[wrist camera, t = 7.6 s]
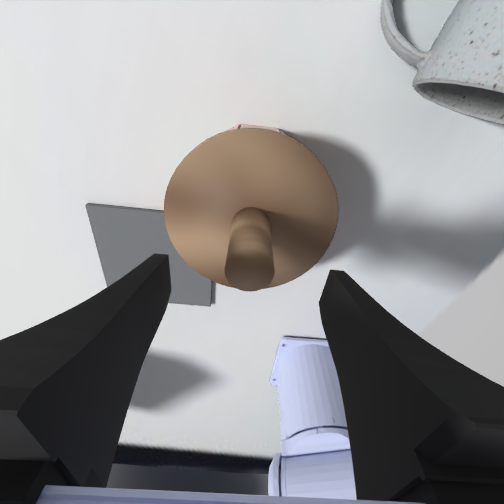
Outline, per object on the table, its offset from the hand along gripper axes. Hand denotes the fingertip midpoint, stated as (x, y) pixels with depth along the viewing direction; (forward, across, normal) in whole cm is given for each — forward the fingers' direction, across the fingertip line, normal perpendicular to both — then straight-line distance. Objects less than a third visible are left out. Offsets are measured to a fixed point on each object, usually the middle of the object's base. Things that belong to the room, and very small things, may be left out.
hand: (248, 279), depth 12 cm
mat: (+10, +8, +7) cm, 15 cm away
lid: (+7, 0, 0) cm, 7 cm away
